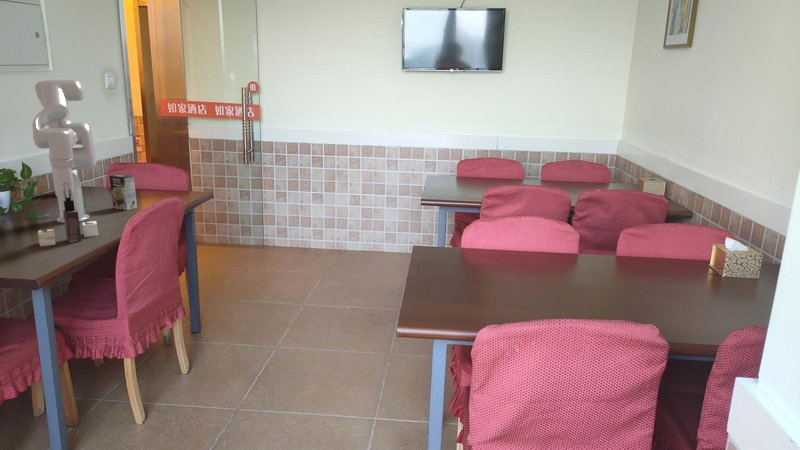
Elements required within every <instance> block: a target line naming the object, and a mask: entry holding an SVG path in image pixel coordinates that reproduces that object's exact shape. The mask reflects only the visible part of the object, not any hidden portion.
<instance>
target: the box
mask: <svg viewBox="0 0 800 450" xmlns="http://www.w3.org/2000/svg"><path fill="white" fill-rule="evenodd" d="M63 213H64V221H65V223H64V228H65V235H66V236H65V237H66V240H67V242H68V243H70V244H71V243H72V244H75V243H78V242H82V234H81V233H82V232H81V225H80V222H79V216H78V211H77V210H74V211H65V210H63Z"/></svg>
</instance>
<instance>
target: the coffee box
mask: <svg viewBox="0 0 800 450" xmlns="http://www.w3.org/2000/svg"><path fill="white" fill-rule="evenodd" d="M109 183H110V190H111V199H112V205H113V206H112V207H113V209H114V208H116V209H115V210H121V209H123V210H122V211H130V209H131V210H134V209H137V208H138V203H137V195H136V193H137V192H136V186H135V185H136V184H135V175H134V174H133V175H132V174H124V173H117V174H111V175H109ZM133 208H134V209H133Z"/></svg>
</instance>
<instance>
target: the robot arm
mask: <svg viewBox="0 0 800 450" xmlns="http://www.w3.org/2000/svg"><path fill="white" fill-rule="evenodd" d="M34 89H35V94H36V97H37V99H38V100H39V103H40V104H41V105H42V108H43V109H41V111H39V112H38V113H37V114H36V116H35V117H34V118H33V121H32V125H31V126H32V139H33V144H35V146H36V147H37V148H38V149H49V154H48V159H49V164H50V166H51V168H52V169H51V171H52V170H53V174H54V178H55V184H56V190H57V196H56V197H57V203H58V208H59V217H57V218H56V221H57V223H61V224H65V221H64V213H63V210H65V211H74V210H77V211H78V216H79V223H80V222H85V221H88V219H90V215H89V214H88V213H86V211H85V206H84V198H83V191H82V183H81V179H80V177H79V176H78V174H77V175H76V174H74V173H73V172H72V170H77V171H78V170H91V169H93V168H95V166H96V165H97V159H96V157H97V156H96V152H95V146H94V138H93V134H92V133H93V132H92V128H91V126H90V124H88V123H87V122H81V121H80V122H71V121H72V120H71V116H70V111H69V110H70V109H69V102H72V101H73V102H76V101H79V102H80V101H82V100H83V99H84V96H85V95H84V93H85V92H84V91H85V90H84V86H83V84H82V82H80V80H77V79H47V80H41V81H37V82H36V83H35V85H34ZM46 126H48V127H47V128H45V127H46ZM77 145H78V146H79V145H80V146H81V147H80V146H79V147H74V146H77Z"/></svg>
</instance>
